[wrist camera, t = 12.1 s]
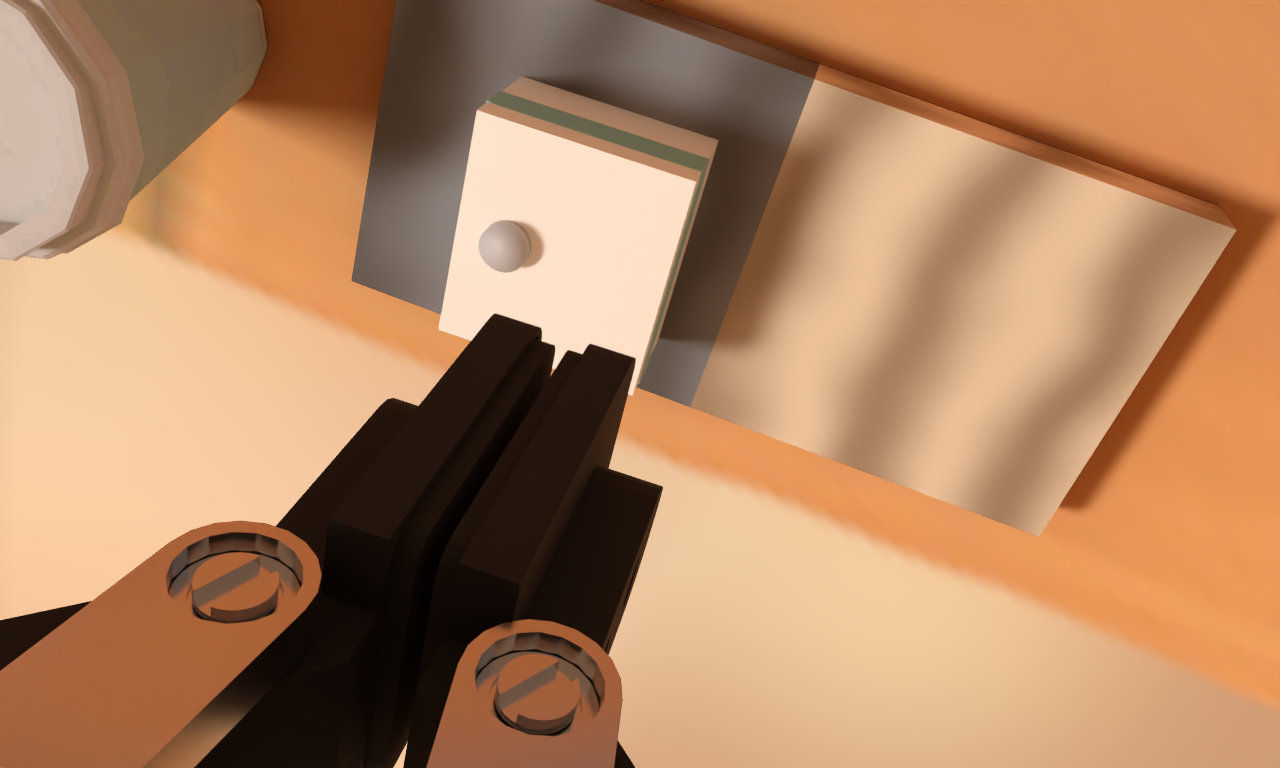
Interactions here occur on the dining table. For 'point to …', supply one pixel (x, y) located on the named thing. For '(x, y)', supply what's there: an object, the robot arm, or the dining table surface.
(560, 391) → the robot arm
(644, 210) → the carton
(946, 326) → the beige flat board
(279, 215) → the dining table surface
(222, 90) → the disposable coffee cup
